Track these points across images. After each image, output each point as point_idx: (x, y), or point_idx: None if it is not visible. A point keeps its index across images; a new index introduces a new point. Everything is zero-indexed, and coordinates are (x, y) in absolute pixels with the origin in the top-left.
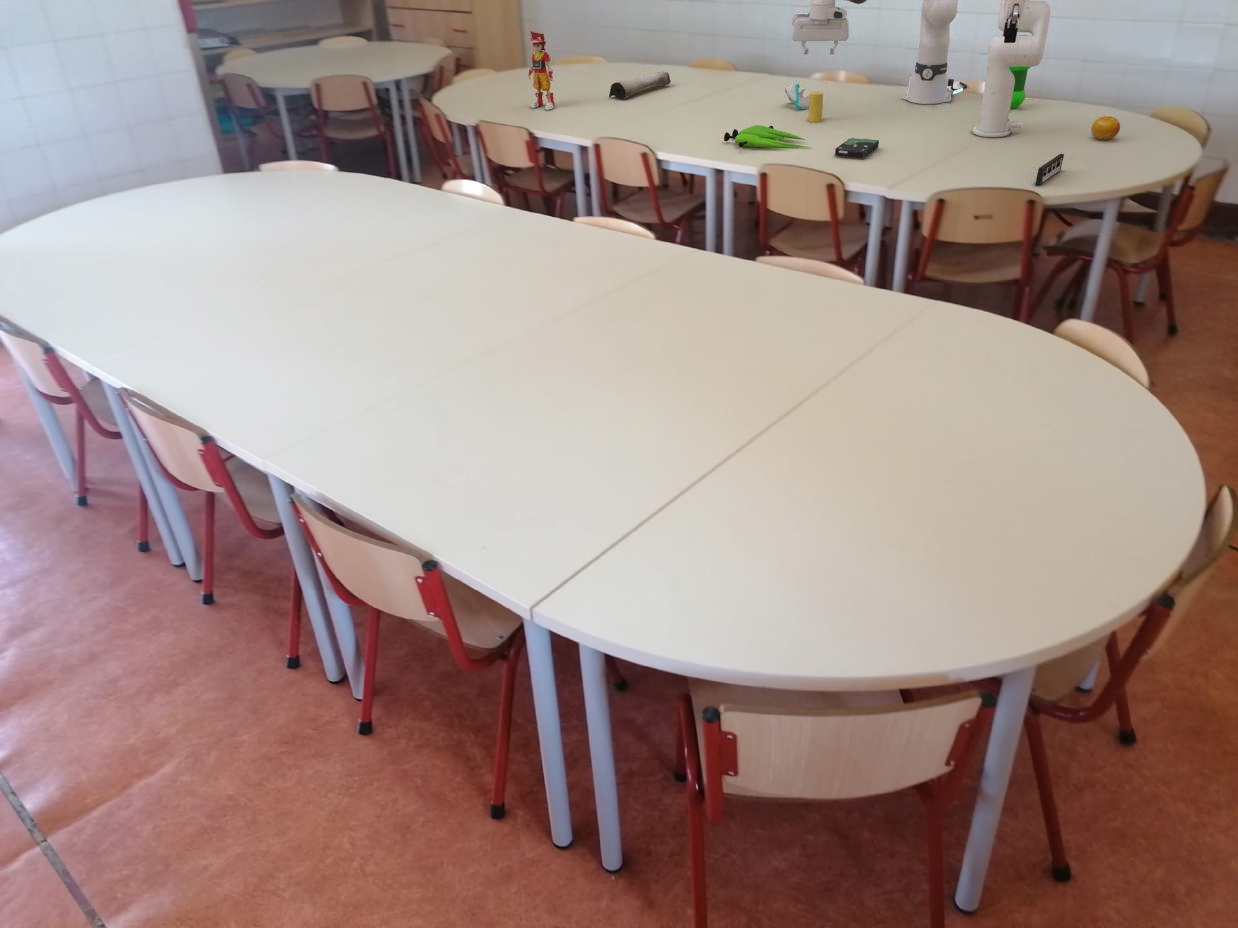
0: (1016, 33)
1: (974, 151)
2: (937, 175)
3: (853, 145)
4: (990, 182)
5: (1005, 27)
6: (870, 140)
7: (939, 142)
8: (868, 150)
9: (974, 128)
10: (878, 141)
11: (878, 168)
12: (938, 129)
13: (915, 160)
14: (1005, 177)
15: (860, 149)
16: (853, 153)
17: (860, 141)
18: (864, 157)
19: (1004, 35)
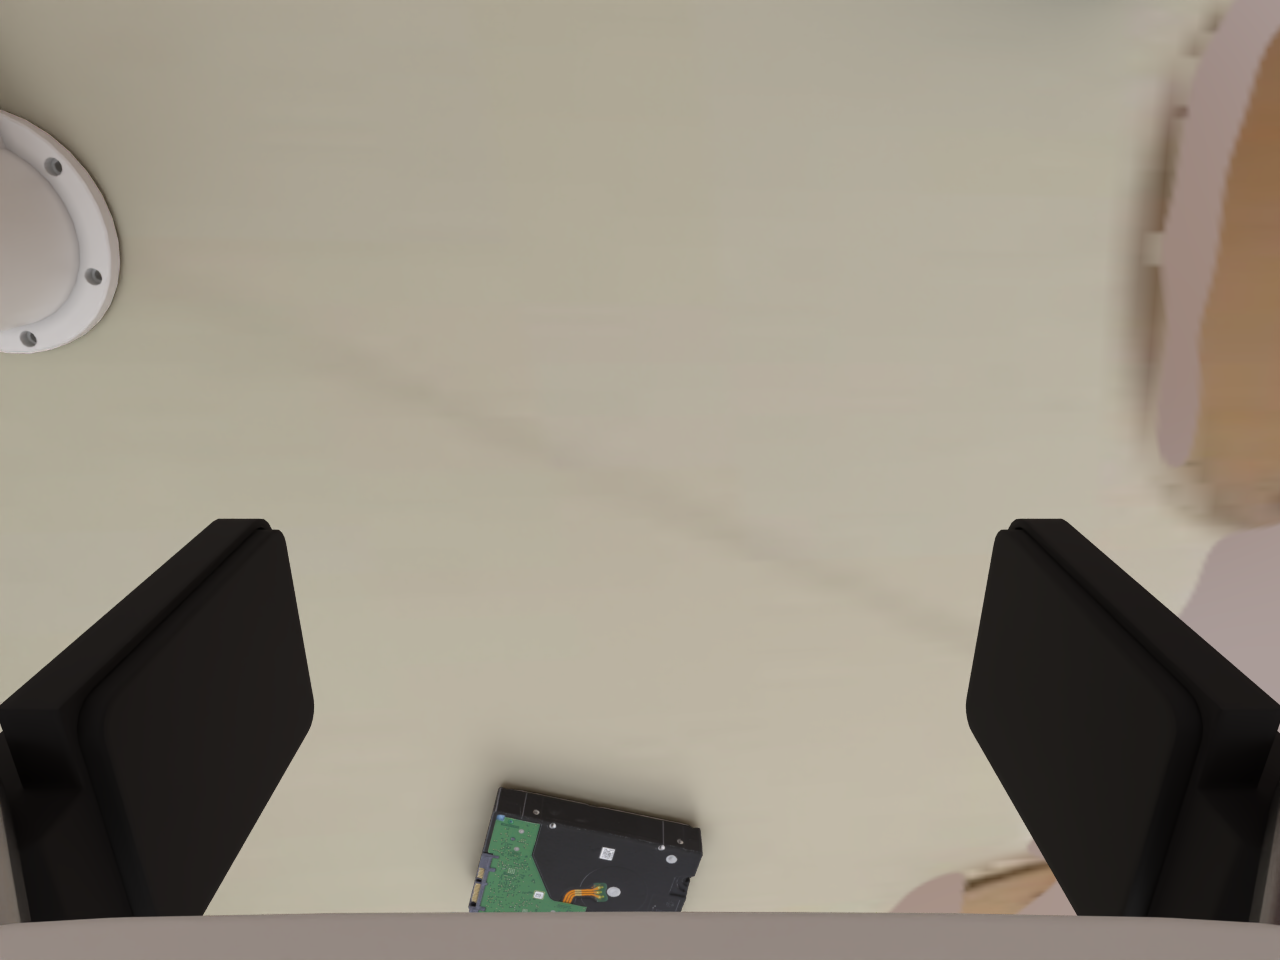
0: (1169, 632)
1: (447, 336)
2: (920, 517)
3: (600, 898)
4: (1045, 253)
5: (225, 860)
6: (499, 843)
7: (307, 522)
8: (643, 834)
9: (2, 344)
10: (503, 811)
11: (816, 760)
12: (34, 534)
13: (669, 621)
14: (953, 165)
15: (665, 869)
16: (688, 881)
17: (527, 879)
18: (688, 827)
19: (298, 717)
